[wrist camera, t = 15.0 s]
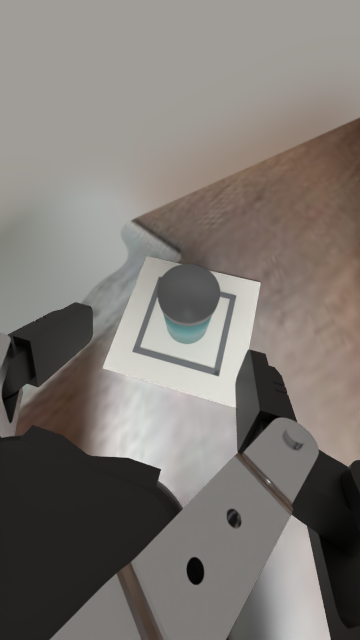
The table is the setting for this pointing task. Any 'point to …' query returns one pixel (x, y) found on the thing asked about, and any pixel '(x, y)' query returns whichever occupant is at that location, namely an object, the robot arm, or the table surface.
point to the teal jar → (188, 301)
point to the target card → (177, 358)
